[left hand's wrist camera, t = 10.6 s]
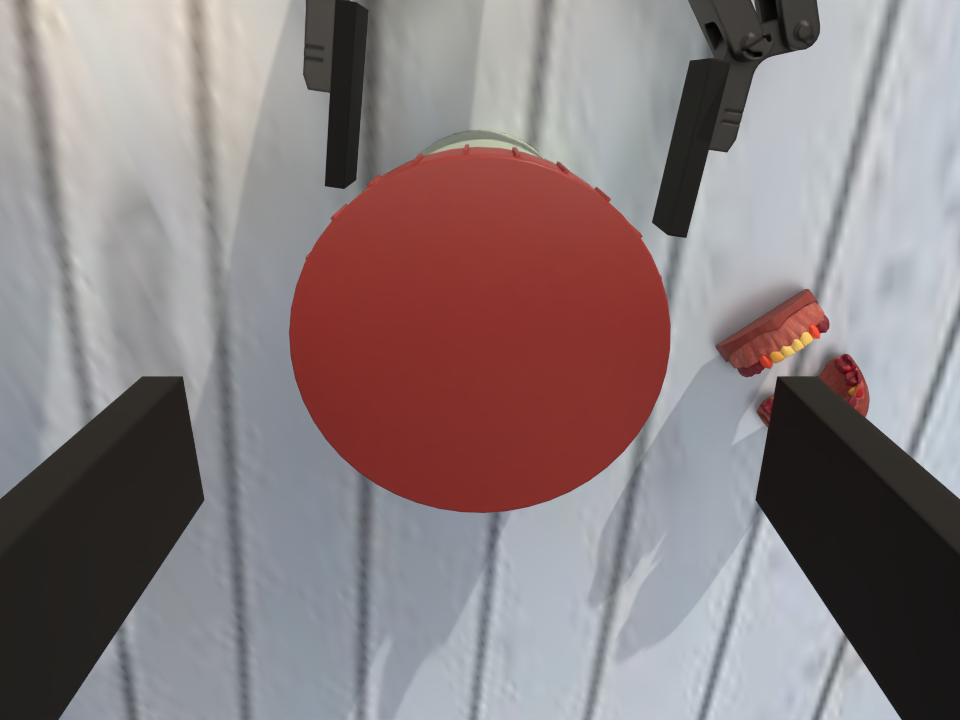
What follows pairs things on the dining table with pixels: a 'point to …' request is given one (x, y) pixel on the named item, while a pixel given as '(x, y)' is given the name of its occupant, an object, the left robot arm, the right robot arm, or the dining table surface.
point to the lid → (479, 331)
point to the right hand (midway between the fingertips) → (506, 207)
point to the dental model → (780, 331)
